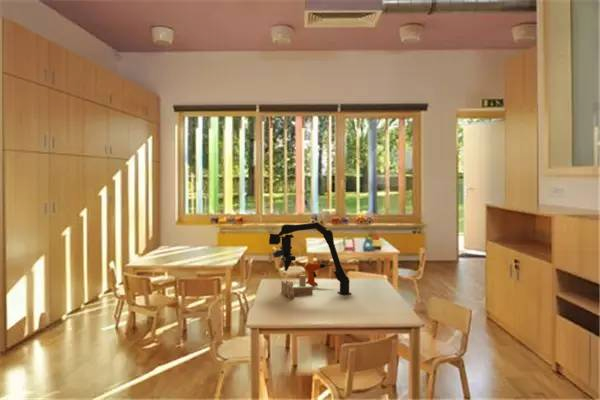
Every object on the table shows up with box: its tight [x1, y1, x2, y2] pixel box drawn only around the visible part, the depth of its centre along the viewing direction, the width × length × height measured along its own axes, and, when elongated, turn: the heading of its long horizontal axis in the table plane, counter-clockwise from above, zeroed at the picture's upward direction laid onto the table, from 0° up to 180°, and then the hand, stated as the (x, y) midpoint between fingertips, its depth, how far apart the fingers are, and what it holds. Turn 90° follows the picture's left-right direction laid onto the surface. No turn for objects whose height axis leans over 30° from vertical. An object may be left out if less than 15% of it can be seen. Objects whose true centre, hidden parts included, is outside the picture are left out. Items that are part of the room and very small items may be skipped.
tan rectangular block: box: [285, 279, 294, 287], centre depth 295 cm, size 4×3×3 cm
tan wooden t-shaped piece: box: [281, 280, 314, 300], centre depth 295 cm, size 18×16×7 cm
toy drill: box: [304, 262, 333, 287], centre depth 324 cm, size 5×19×15 cm, turn 86°
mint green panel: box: [292, 274, 313, 289], centre depth 298 cm, size 8×14×8 cm, turn 109°
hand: (286, 270), depth 302 cm, fingers closed
